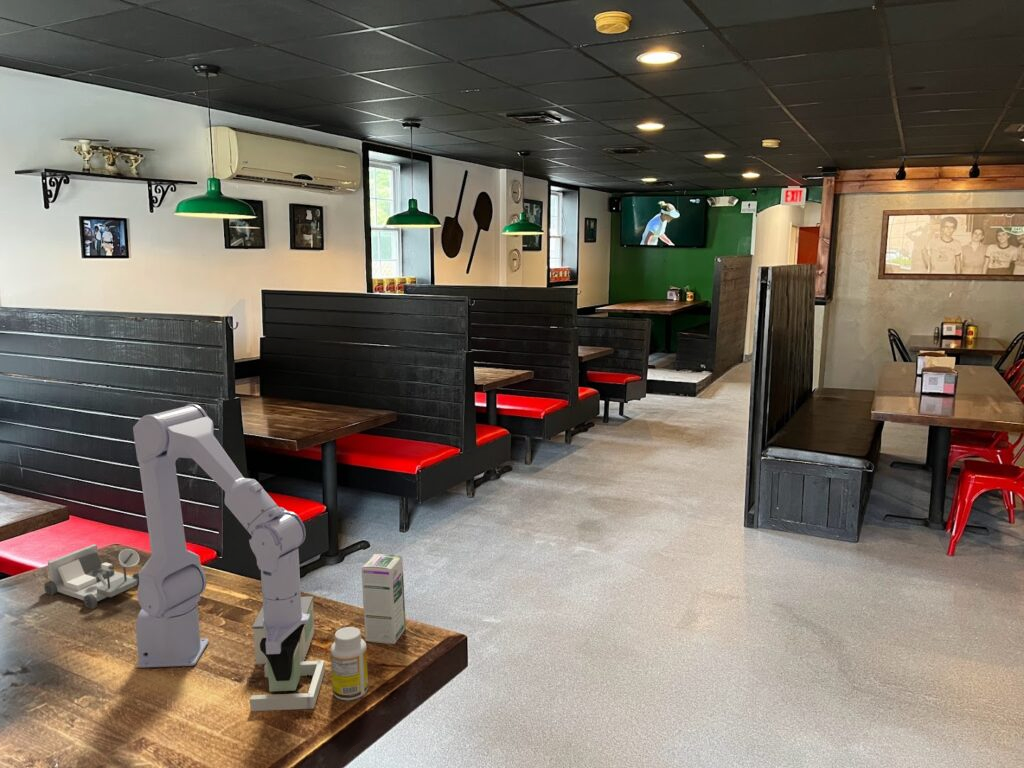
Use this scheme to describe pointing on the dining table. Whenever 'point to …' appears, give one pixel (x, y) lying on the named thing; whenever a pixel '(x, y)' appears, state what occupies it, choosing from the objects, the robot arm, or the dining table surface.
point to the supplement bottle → (349, 664)
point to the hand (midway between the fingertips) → (286, 671)
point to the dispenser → (305, 635)
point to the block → (294, 677)
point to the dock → (292, 699)
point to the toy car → (90, 575)
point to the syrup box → (383, 598)
